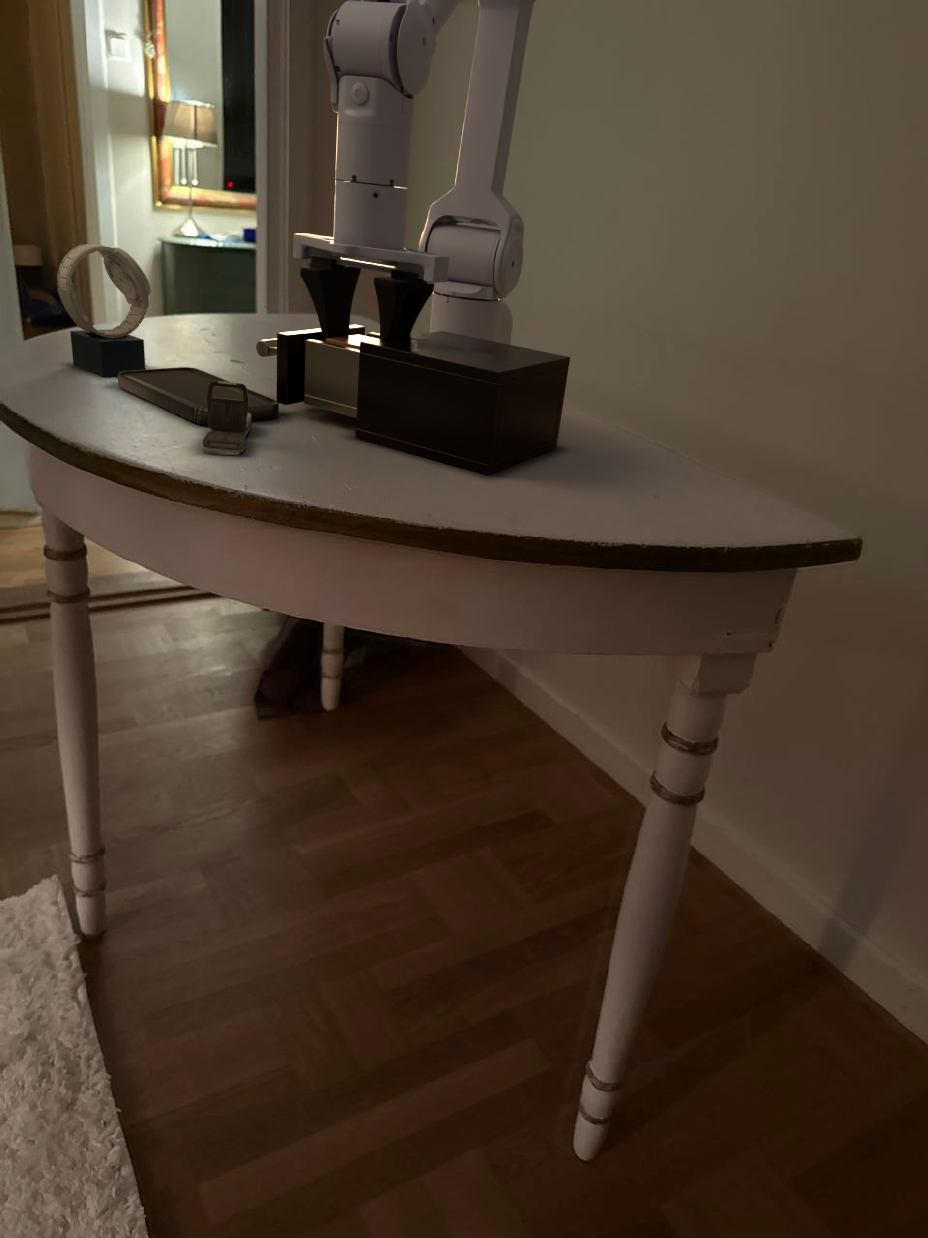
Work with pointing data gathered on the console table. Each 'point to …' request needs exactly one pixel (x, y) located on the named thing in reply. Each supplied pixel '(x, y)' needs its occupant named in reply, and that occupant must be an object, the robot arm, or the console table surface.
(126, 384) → the phone
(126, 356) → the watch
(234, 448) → the strap clip
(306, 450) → the console table surface
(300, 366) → the drawer
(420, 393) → the dark brown box
